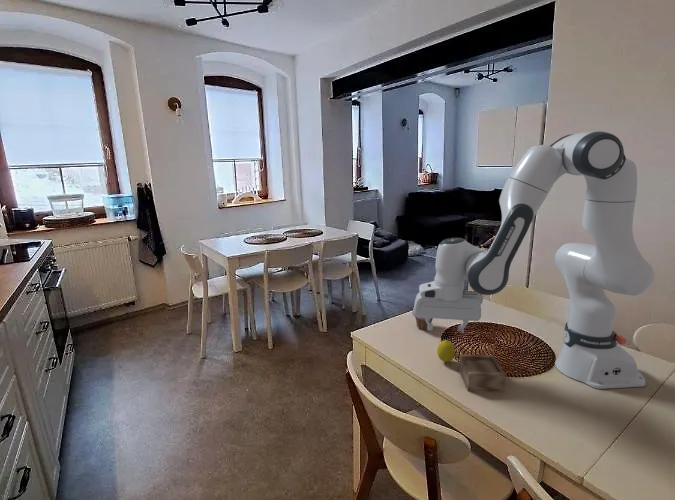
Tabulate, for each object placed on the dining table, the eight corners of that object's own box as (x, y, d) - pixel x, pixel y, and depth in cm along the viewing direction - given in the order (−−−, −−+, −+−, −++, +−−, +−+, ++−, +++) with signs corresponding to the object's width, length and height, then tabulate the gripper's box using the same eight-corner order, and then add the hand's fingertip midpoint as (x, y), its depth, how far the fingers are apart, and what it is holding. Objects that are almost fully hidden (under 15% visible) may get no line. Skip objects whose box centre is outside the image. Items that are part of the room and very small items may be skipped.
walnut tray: (491, 372, 111) (493, 355, 110) (503, 392, 102) (505, 374, 100) (458, 371, 112) (460, 354, 111) (467, 392, 103) (469, 373, 101)
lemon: (455, 367, 114) (456, 345, 112) (437, 366, 115) (438, 344, 113) (453, 358, 119) (454, 336, 117) (436, 356, 120) (437, 335, 118)
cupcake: (434, 334, 135) (435, 309, 132) (410, 331, 138) (411, 307, 135) (435, 323, 143) (436, 300, 141) (413, 321, 146) (414, 298, 143)
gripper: (481, 287, 112) (477, 328, 115) (414, 284, 115) (412, 324, 118) (486, 295, 106) (481, 337, 109) (415, 291, 109) (413, 333, 112)
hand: (445, 330), depth 114 cm, fingers open, 8 cm apart
